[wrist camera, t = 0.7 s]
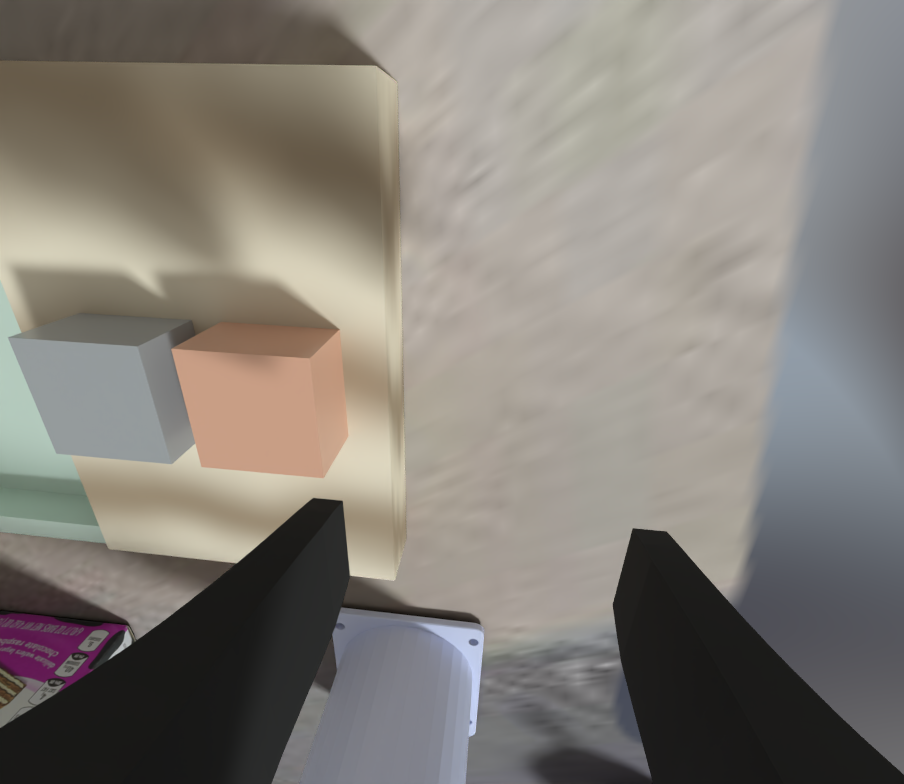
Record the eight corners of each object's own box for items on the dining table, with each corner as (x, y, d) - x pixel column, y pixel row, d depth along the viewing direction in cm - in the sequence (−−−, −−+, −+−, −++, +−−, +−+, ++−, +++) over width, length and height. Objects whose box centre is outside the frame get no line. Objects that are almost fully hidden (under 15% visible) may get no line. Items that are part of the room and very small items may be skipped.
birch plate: (406, 538, 22) (394, 580, 20) (147, 511, 23) (108, 549, 21) (397, 82, 14) (376, 65, 12) (1, 75, 15) (-89, 58, 13)
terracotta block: (348, 436, 17) (323, 478, 14) (241, 427, 17) (201, 466, 15) (339, 329, 15) (309, 358, 13) (220, 321, 15) (171, 348, 13)
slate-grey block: (216, 425, 17) (171, 464, 15) (114, 416, 17) (56, 453, 15) (191, 319, 15) (137, 346, 13) (79, 312, 16) (7, 337, 13)
